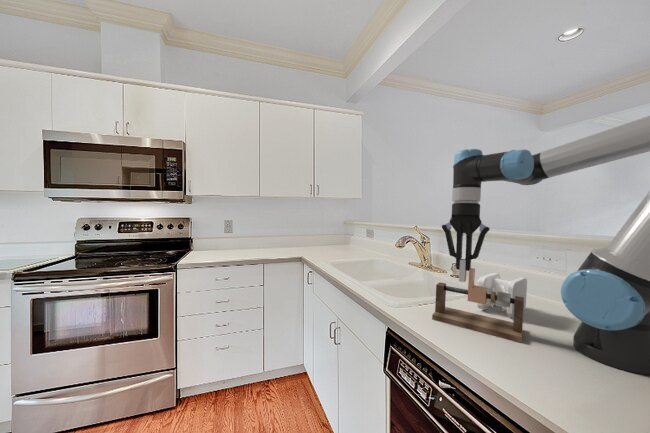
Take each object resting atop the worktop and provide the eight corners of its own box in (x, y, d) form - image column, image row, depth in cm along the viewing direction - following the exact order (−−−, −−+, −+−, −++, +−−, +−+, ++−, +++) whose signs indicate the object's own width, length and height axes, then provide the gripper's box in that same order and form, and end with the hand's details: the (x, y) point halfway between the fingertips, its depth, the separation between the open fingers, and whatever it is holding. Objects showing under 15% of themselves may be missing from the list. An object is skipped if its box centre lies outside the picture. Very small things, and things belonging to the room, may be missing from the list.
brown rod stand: (522, 329, 77) (524, 293, 76) (521, 342, 69) (523, 302, 68) (440, 310, 90) (442, 279, 90) (432, 319, 82) (433, 285, 82)
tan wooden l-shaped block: (486, 301, 79) (488, 270, 79) (485, 304, 76) (486, 272, 76) (469, 297, 82) (471, 268, 82) (467, 300, 79) (469, 270, 78)
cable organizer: (511, 321, 83) (513, 283, 82) (474, 310, 91) (476, 276, 90) (526, 311, 92) (528, 277, 92) (492, 302, 100) (493, 271, 100)
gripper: (492, 203, 80) (489, 282, 80) (445, 203, 88) (442, 275, 88) (489, 202, 74) (486, 287, 74) (439, 202, 82) (436, 279, 82)
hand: (462, 280), depth 81 cm, fingers closed
